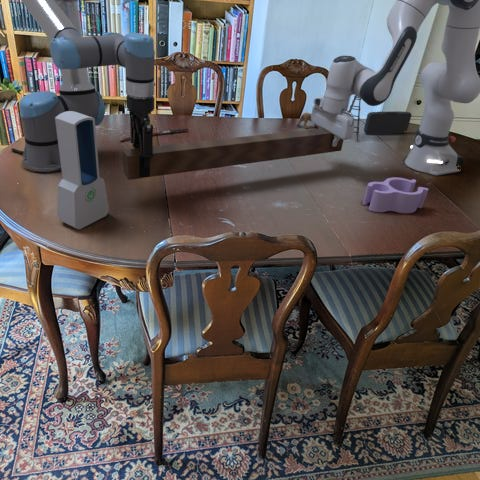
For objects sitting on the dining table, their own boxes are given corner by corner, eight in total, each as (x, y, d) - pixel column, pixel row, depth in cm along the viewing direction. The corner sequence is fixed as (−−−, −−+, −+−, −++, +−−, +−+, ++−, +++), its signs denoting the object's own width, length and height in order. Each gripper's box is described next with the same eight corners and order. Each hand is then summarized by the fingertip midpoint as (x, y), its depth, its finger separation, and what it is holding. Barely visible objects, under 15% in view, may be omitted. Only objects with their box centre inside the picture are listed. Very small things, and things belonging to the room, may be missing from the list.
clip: (376, 216, 149) (381, 197, 146) (356, 198, 159) (361, 179, 155) (427, 211, 156) (433, 192, 152) (405, 194, 165) (410, 176, 162)
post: (128, 180, 137) (127, 156, 133) (123, 172, 140) (122, 149, 136) (341, 150, 173) (345, 131, 169) (332, 145, 176) (336, 126, 172)
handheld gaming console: (403, 131, 225) (409, 110, 219) (406, 133, 222) (412, 112, 217) (362, 132, 217) (367, 111, 212) (365, 134, 215) (370, 113, 210)
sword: (184, 128, 200) (184, 125, 199) (188, 130, 198) (188, 128, 197) (117, 141, 184) (116, 138, 183) (120, 143, 182) (120, 140, 181)
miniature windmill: (357, 141, 207) (374, 71, 190) (338, 138, 208) (353, 69, 191) (357, 134, 214) (373, 67, 198) (339, 132, 215) (353, 64, 199)
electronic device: (76, 231, 126) (63, 124, 110) (57, 222, 129) (42, 116, 113) (110, 214, 135) (103, 112, 119) (91, 206, 138) (82, 105, 122)
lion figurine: (321, 124, 222) (325, 105, 217) (326, 128, 218) (330, 109, 213) (293, 125, 217) (296, 106, 212) (298, 129, 213) (302, 110, 208)
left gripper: (165, 105, 123) (164, 183, 136) (142, 85, 136) (143, 158, 149) (137, 107, 120) (139, 187, 133) (117, 86, 132) (120, 161, 145)
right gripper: (361, 113, 157) (352, 152, 165) (325, 96, 172) (318, 132, 179) (347, 115, 154) (339, 154, 162) (311, 97, 169) (305, 133, 176)
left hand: (141, 172), depth 141 cm, fingers closed on post, 5 cm apart
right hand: (327, 142), depth 171 cm, fingers closed on post, 5 cm apart
